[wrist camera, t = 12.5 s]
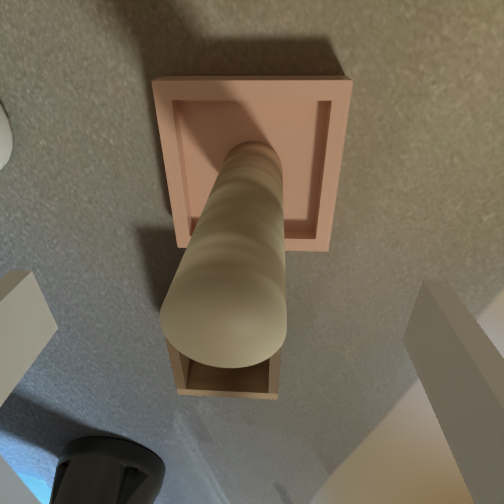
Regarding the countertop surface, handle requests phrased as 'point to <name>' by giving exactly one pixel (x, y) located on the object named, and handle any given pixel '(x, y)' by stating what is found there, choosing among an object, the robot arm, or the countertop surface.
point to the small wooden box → (225, 377)
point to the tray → (260, 130)
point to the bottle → (5, 138)
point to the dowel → (233, 267)
